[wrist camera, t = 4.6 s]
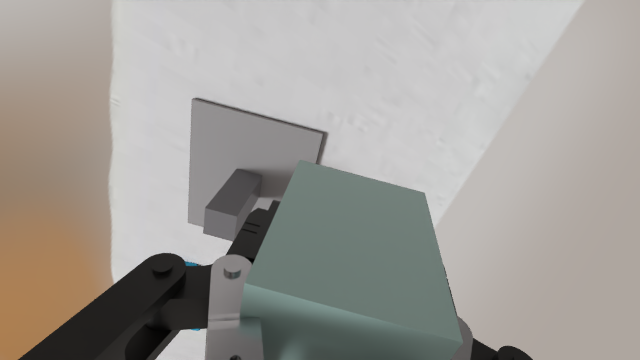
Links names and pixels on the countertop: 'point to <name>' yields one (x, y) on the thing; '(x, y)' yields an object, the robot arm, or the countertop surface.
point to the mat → (243, 153)
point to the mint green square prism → (351, 274)
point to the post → (232, 205)
